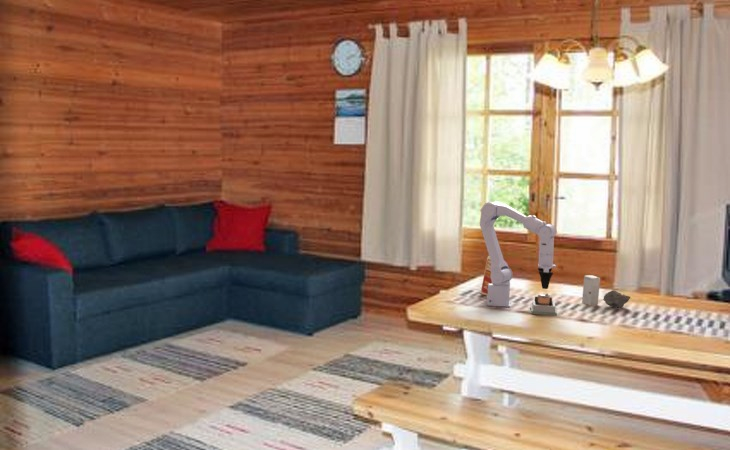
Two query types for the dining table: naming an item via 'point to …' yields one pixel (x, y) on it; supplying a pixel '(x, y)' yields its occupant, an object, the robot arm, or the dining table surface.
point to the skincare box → (591, 290)
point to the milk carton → (486, 277)
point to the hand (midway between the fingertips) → (544, 286)
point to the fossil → (615, 299)
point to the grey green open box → (543, 307)
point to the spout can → (543, 299)
